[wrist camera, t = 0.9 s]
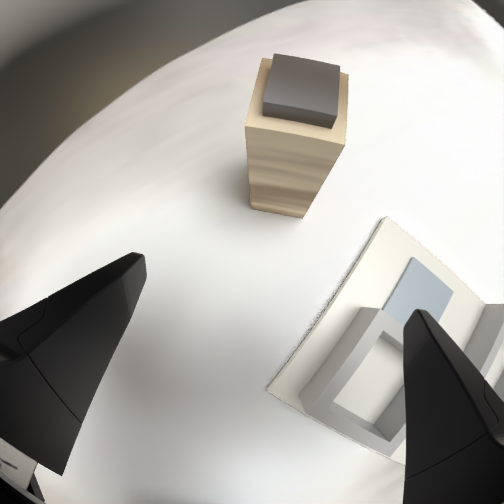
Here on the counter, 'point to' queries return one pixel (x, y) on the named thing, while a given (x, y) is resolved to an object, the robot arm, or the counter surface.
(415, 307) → the socket panel
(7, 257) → the counter surface
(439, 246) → the counter surface
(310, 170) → the plug
